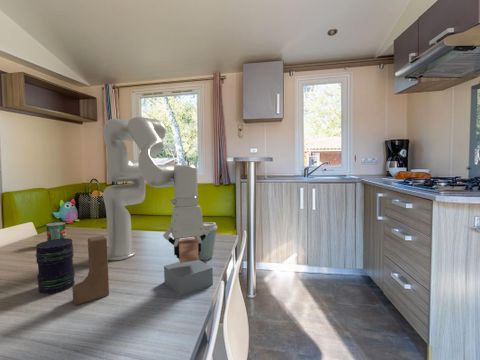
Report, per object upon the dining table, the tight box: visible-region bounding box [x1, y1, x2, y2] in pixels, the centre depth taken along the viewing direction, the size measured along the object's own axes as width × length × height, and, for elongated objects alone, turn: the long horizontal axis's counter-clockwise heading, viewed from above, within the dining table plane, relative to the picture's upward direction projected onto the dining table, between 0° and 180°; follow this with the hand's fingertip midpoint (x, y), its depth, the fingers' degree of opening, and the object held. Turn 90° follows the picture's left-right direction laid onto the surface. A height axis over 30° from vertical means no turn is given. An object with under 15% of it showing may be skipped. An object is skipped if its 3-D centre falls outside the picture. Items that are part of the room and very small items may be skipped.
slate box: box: [163, 259, 214, 297], centre depth 84 cm, size 12×12×6 cm
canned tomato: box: [45, 221, 67, 241], centre depth 127 cm, size 8×8×11 cm
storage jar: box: [35, 238, 76, 295], centre depth 82 cm, size 10×10×15 cm
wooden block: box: [71, 235, 110, 306], centre depth 75 cm, size 9×4×18 cm, turn 130°
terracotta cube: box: [177, 237, 200, 263], centre depth 83 cm, size 6×6×6 cm
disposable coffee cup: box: [195, 221, 218, 261], centre depth 107 cm, size 11×11×15 cm
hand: (187, 254), depth 83 cm, fingers closed on terracotta cube, 6 cm apart
